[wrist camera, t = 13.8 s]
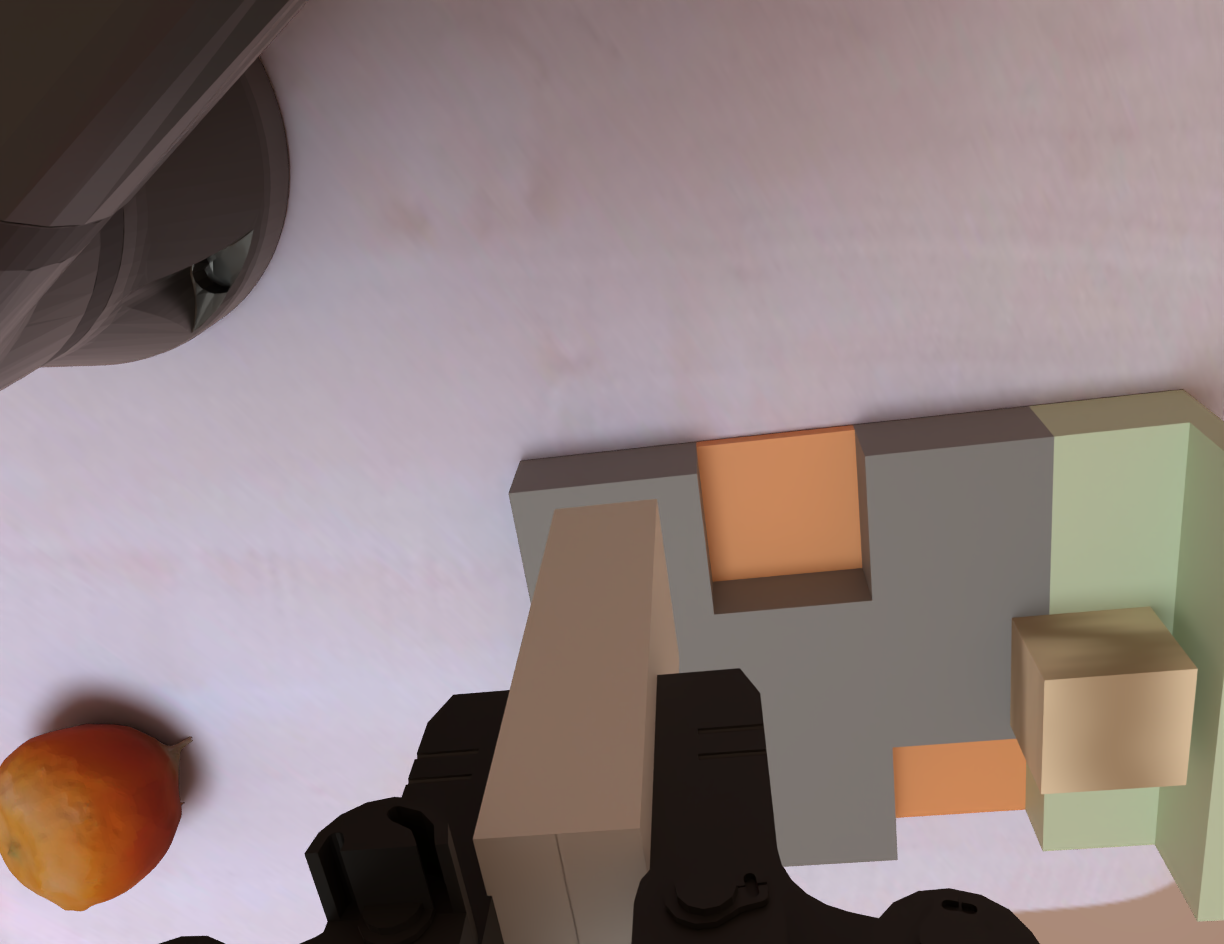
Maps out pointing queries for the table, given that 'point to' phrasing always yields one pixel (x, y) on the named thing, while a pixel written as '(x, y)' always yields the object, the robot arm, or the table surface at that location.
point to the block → (1101, 700)
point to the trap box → (933, 604)
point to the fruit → (88, 811)
